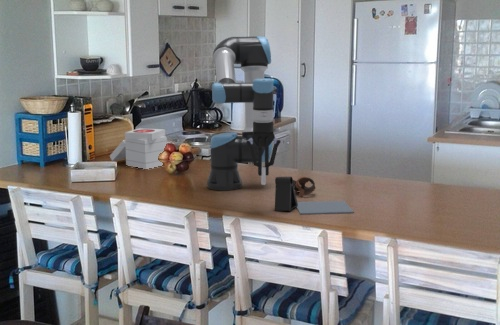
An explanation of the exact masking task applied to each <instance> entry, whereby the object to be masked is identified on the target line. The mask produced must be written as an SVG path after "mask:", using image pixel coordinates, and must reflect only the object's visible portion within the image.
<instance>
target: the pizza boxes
mask: <svg viewBox="0 0 500 325" xmlns="http://www.w3.org/2000/svg"><path fill="white" fill-rule="evenodd" d="M166 144H167V145H168V138H167V136H166V129H165V128H164V129H163V128H161V129H160V128H142V127H141V128H140V127H139V128H135V129H132V130H129V131H125V132H124V139H123V140H122V141H120V143H119V144H117V146H116V148H115V149H114V150H113V151H112V152H111V153H110V155H109V158H110V160H111V161H112V162H114V161H120V160H125V165H128V166H133V167H138V168H143V169H142V170H144V169H148V170H150V169H149V168H152V169H155V168H154V167H157V168H159V167H158V166H162V165H163V163H162V162H160V161H159V160H158V156H159V154H160V153H162V152H163V151H164V148H165V146H166ZM133 167H132V168H133ZM162 167H163V166H162ZM138 168H137V169H138Z"/></svg>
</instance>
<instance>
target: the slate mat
mask: <svg viewBox="0 0 500 325" xmlns="http://www.w3.org/2000/svg"><path fill="white" fill-rule="evenodd" d="M297 203H298V206H296V207H295V208H296V210H297V211H298V213H299V215H322V214H323V215H328V214H329V215H330V214H332V215H334V214H355V211H354V210H353V209H352V208H351V206H349V204H348V203H347V202H346V201H345V200H328V201H327V200H324V201H323V200H319V201H297Z"/></svg>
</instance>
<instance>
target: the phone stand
mask: <svg viewBox="0 0 500 325" xmlns="http://www.w3.org/2000/svg"><path fill="white" fill-rule="evenodd" d="M293 180H294V179H293V176H276V177H275V179H274V182H275V192H274V211H275V212H290V211H292V210H294V209H295V208H296V206H298V203H297V202H298V200H297V193H295V190H294V186H293Z"/></svg>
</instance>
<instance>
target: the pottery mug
mask: <svg viewBox="0 0 500 325" xmlns="http://www.w3.org/2000/svg"><path fill="white" fill-rule="evenodd" d="M308 182H310V184H311V185H310V186H309V187H308V186H306V184H307V183H308ZM315 185H316V182H315V181H314V179H312V178H310V177H307V176H301V177H299V178H297V180H295V179H293V186H294V190H295V194H297V193H298V192H299V193H298V196H299V197H301V198H303V197H304V196H306V195H309V194H312V193H313V192H314V191H315V189H316V188H317V187H316V186H315Z"/></svg>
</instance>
